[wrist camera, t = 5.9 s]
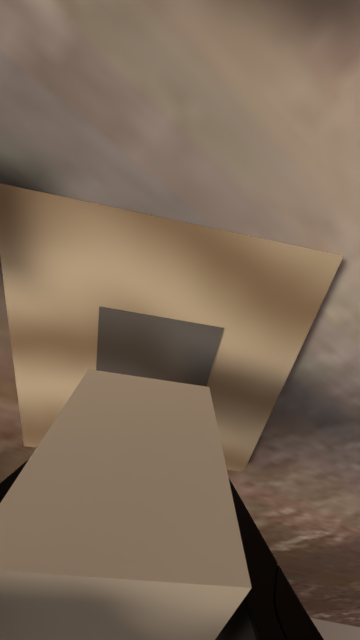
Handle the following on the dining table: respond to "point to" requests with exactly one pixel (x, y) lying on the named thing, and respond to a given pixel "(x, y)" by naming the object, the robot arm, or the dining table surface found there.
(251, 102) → the dining table surface
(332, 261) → the tan board
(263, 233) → the dining table surface
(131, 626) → the cream block
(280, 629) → the robot arm
